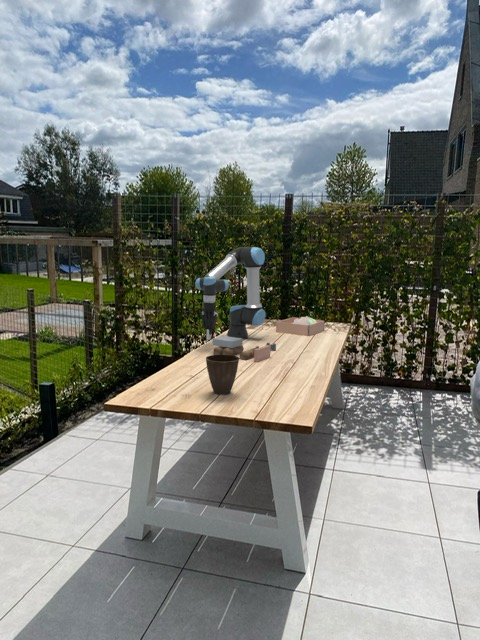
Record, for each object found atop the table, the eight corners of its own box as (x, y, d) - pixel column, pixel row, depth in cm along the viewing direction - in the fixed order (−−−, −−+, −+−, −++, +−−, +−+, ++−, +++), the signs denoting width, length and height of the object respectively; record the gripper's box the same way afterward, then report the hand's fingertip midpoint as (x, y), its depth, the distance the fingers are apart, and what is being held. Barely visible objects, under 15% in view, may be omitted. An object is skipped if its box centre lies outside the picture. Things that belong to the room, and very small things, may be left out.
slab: (223, 342, 309) (223, 335, 308) (242, 344, 302) (242, 338, 301) (212, 345, 299) (212, 338, 298) (231, 348, 292) (232, 341, 291)
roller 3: (252, 353, 301) (253, 346, 300) (259, 356, 299) (260, 348, 298) (238, 358, 288) (240, 350, 286) (245, 361, 285) (247, 353, 284)
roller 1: (227, 350, 310) (227, 342, 310) (234, 351, 308) (234, 343, 307) (213, 354, 297) (213, 346, 296) (220, 356, 294) (220, 348, 293)
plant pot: (198, 391, 223) (199, 357, 220) (222, 385, 233) (223, 352, 231) (220, 399, 212) (221, 363, 210) (245, 392, 223) (246, 358, 220)
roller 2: (236, 351, 307) (236, 343, 306) (243, 353, 304) (243, 345, 304) (222, 356, 294) (222, 347, 293) (229, 358, 291) (229, 349, 290)
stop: (267, 356, 296) (267, 345, 295) (270, 356, 295) (270, 345, 294) (254, 361, 282) (254, 349, 281) (257, 362, 281) (257, 350, 280)
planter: (292, 326, 405) (293, 317, 403) (324, 330, 391) (324, 320, 389) (276, 332, 379) (276, 321, 378) (308, 336, 365) (309, 325, 364)
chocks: (227, 350, 310) (227, 349, 310) (259, 355, 299) (259, 354, 299) (213, 354, 297) (213, 354, 297) (245, 360, 285) (246, 359, 285)
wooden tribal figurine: (286, 322, 396) (315, 314, 391) (291, 339, 394) (320, 331, 389) (283, 320, 382) (313, 312, 377) (288, 338, 380) (318, 330, 375)
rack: (267, 349, 316) (267, 342, 315) (275, 350, 313) (276, 343, 312) (255, 353, 302) (255, 346, 302) (263, 355, 299) (264, 347, 299)
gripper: (197, 301, 304) (196, 339, 307) (214, 303, 297) (213, 341, 301) (204, 300, 310) (203, 337, 314) (221, 302, 303) (220, 339, 307)
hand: (208, 339), depth 307 cm, fingers closed
